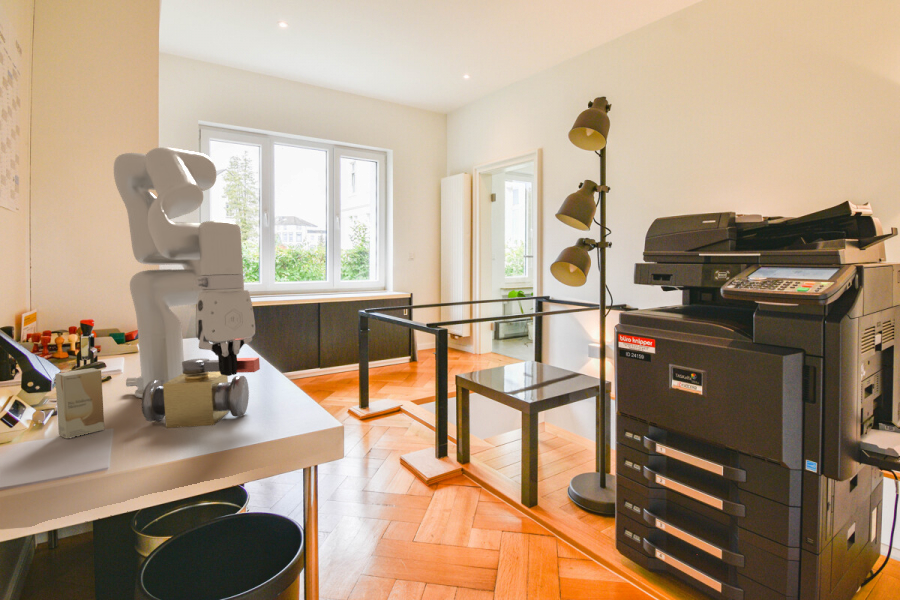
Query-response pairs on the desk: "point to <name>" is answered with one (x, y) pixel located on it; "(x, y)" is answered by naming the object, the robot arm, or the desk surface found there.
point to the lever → (213, 365)
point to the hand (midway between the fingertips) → (228, 374)
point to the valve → (195, 399)
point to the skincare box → (79, 402)
